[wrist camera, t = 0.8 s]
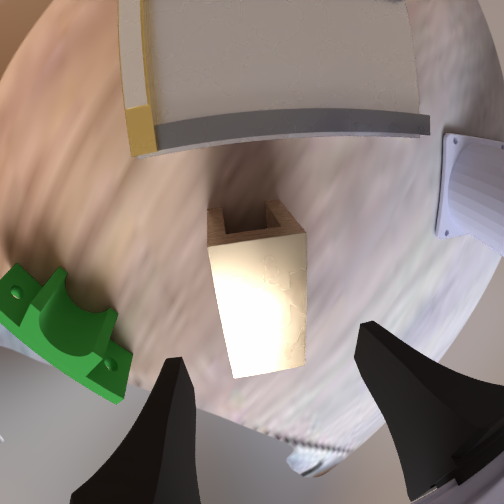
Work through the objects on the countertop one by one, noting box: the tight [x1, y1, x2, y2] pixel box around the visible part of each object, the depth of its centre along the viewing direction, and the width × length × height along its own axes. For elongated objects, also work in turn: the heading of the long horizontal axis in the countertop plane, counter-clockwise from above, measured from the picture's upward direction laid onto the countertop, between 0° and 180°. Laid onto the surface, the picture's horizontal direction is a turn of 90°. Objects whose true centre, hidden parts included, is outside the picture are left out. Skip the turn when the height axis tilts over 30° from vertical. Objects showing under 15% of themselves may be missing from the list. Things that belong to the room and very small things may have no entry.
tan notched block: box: [207, 200, 307, 378], centre depth 15 cm, size 8×4×5 cm, turn 6°
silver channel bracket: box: [118, 0, 430, 159], centre depth 11 cm, size 16×11×3 cm
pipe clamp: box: [0, 263, 133, 404], centre depth 15 cm, size 11×4×5 cm, turn 42°
